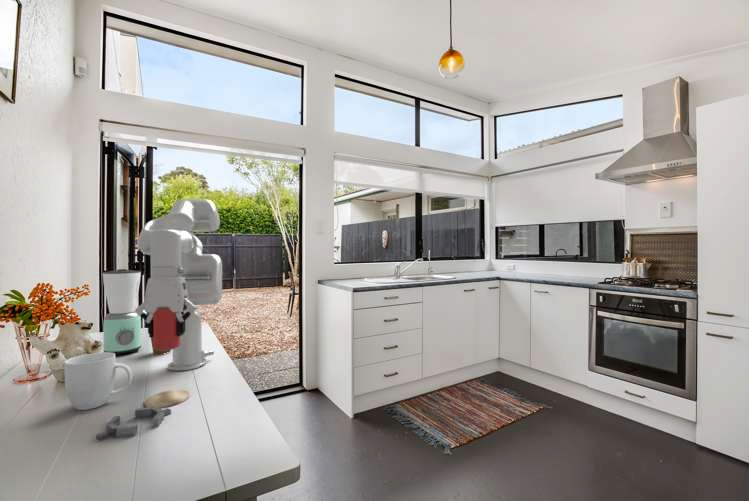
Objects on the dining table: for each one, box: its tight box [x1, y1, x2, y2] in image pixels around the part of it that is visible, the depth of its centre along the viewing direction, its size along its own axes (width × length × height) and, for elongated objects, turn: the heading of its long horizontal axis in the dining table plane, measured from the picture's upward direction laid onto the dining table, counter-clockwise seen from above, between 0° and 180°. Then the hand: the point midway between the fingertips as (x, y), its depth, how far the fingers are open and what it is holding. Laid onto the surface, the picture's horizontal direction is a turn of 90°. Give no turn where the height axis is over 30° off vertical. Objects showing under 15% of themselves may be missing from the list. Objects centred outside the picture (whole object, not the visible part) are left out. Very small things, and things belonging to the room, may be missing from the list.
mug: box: [64, 351, 133, 411], centre depth 99 cm, size 15×11×13 cm
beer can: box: [153, 307, 180, 351], centre depth 101 cm, size 7×7×12 cm
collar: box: [95, 406, 172, 442], centre depth 86 cm, size 16×10×2 cm
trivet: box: [144, 389, 190, 409], centre depth 101 cm, size 11×11×1 cm
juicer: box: [101, 268, 142, 357], centre depth 150 cm, size 19×13×35 cm
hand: (167, 335), depth 101 cm, fingers closed on beer can, 6 cm apart
